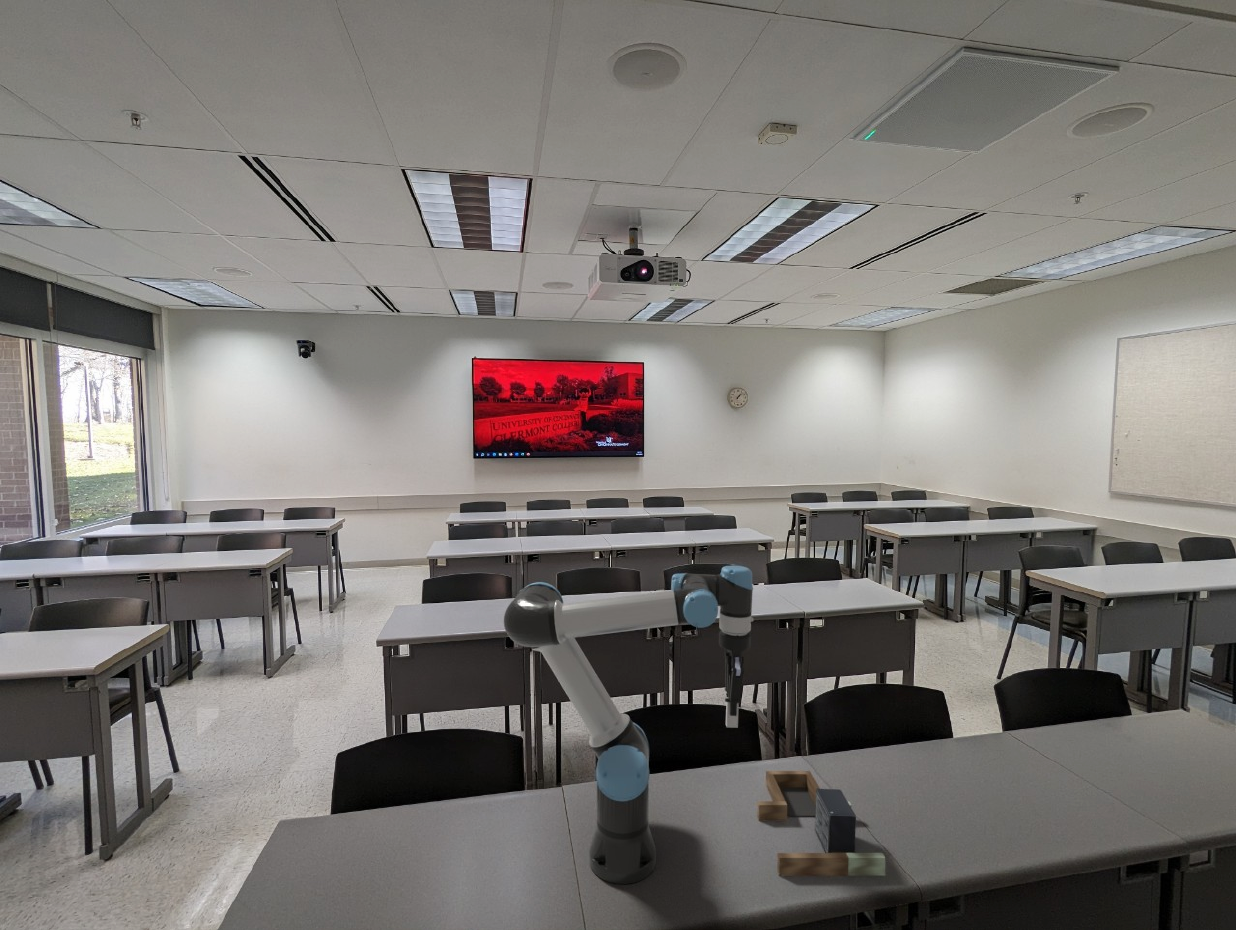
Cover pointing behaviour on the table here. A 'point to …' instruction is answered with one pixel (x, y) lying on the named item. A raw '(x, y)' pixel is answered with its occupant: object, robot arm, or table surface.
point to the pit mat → (798, 802)
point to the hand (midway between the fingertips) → (731, 725)
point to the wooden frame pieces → (812, 861)
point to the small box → (834, 821)
